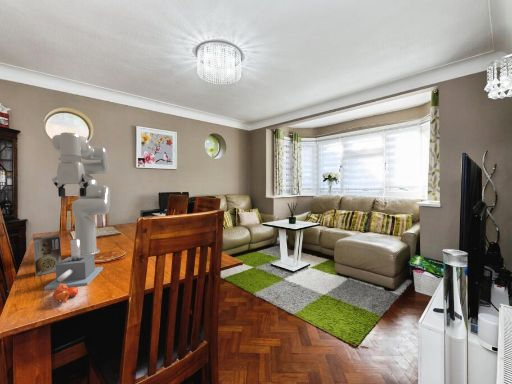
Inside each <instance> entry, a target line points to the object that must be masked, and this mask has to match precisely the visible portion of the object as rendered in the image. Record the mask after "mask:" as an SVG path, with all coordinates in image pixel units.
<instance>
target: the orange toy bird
mask: <svg viewBox="0 0 512 384" xmlns="http://www.w3.org/2000/svg"><path fill="white" fill-rule="evenodd" d="M78 294H79V288H77V286H74V287H67V285H66V284H59V285H58V287H57V288H56V289H54V292H53V293H52V300H53V301H55V302H57V304H62V303H65V304H66V303H67V301H68V299H69V298H74V297H76V296H77V295H78Z"/></svg>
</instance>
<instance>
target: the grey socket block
mask: <svg viewBox="0 0 512 384" xmlns="http://www.w3.org/2000/svg"><path fill="white" fill-rule="evenodd" d="M80 258H81V261H73V262H72V258H71V256H68V257H66V258H65V259H62V261H61V262H60V263H58V264H56V272H55V279H54V280H52V281H51V282H50V283H48V284H47V285H46V286H44V290H45V291H47V290H55V289H56V288H57V287H58V285H59V284H66V285H67V287H68V288H70V287H80V286H81V287H82V286H88V285H89V284H90V283H91V282H92V281H93V280H94V279H95V278H96V277H97V276H98V275H99V273H101V271H102V270H103V269H104V266H97V267H96V265H95V263H96V262H95V260H96V259H95V255H89V256H80Z"/></svg>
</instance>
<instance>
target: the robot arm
mask: <svg viewBox="0 0 512 384" xmlns="http://www.w3.org/2000/svg"><path fill="white" fill-rule="evenodd" d="M51 145H52V147H53V149H54V150H55V151H57V152H58V153H60V157H58V160H59V161H60V162H58V164H57V171H56V176H55V177H52V178H51V180H52V182H53V185H54V186H55V187H56V188H57V192H58V193H57V194H58V197H59V198H62V197H66V188H65V186H66V185H78V186H79V188H78V192H77V193H78V195H77V197H78V199H76V200H74V201H73V202H72V204H71V211H72V214H73V219H74V235H75V236H74V237H75V238H74V239H80V256H89V255H94V256H95V255H97V254H99V253H100V252H101V250H100V249H99V248H97V245H98V244H97V228H96V227H97V225H96V224H97V223H96V221H95V220H94V218H93V217H92V216H98V215H99V216H101V215H102V216H103V215H107V214H108V213H109V212H110V207H111V189H110V187H109V186H107V185H104V184H102V185H101V184H99V185H98V181H97V180H96V179H95V177H94V176H92V175H107V174H109V173H110V170H111V168H110V162H109V156H108V151H107V149H106V148H105V147H104V146H99V145H97V146H96V145H90V141H89V140H88V139H87V137H85V136H82V135H80V134H78V133H75V132H65V131H64V132H61V133H60V134H55V135H54V136H52V139H51Z"/></svg>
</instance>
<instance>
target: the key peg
mask: <svg viewBox="0 0 512 384" xmlns="http://www.w3.org/2000/svg"><path fill="white" fill-rule="evenodd" d="M70 255H71V256H70V257H71V258H72V262H73V261H81V258H80V239H75V238H73V239H70Z"/></svg>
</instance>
